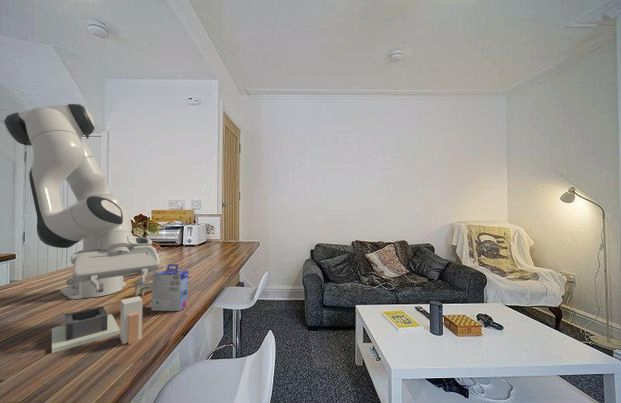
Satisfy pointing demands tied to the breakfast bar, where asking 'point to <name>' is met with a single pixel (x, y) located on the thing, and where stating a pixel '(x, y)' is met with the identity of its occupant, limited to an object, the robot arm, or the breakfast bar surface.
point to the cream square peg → (131, 320)
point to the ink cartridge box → (170, 290)
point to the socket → (83, 328)
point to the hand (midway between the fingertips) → (121, 287)
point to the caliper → (143, 288)
